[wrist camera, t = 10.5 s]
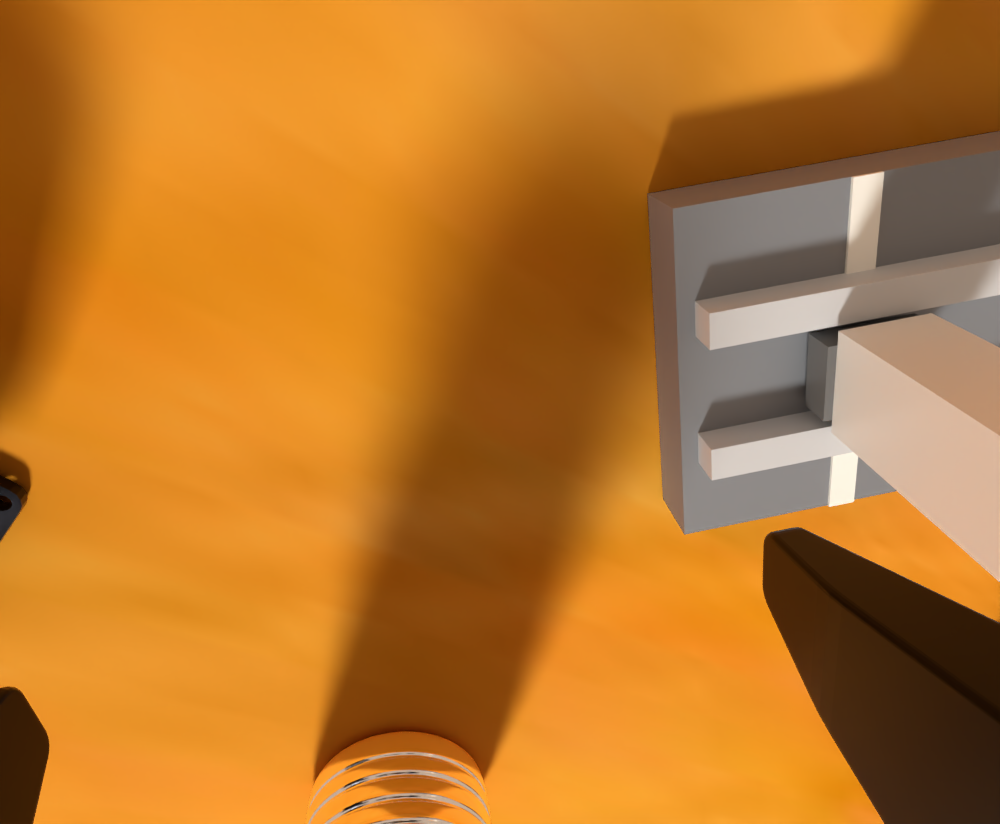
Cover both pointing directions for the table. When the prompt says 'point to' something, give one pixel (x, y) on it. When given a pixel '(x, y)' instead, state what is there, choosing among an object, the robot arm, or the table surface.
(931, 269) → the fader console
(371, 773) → the water bottle
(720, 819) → the table surface
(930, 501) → the fader tab
